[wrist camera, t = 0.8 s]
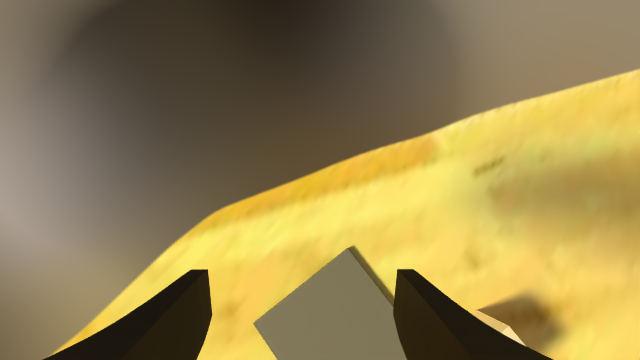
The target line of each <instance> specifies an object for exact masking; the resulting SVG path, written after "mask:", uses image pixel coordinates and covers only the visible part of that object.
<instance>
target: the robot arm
mask: <svg viewBox="0 0 640 360" xmlns="http://www.w3.org/2000/svg"><path fill="white" fill-rule="evenodd" d="M393 316H394V321H395V325H396V329H397V333H398V337H399V340H400V343H401V346H402V348H403V351H404V353H405V356H406V359H407V360H553V359H551V358H549V357H546V356H544V355H542V354H540V353H538V352H536V351H534V350H532V349H530V348H528V347H526V346H524V345H522V344H520V343H518V342H517V341H515V340H513V339H511V338H509V337H507V336H506V335H504V334H502V333H501V332H499V331H497V330H496V329H494V328H492V327H491V326H489V325H487V324H486V323H484V322H483V321H481V320H480V319H478V318H477V317H475V316H474V315H472V314H471V313H469V312H468V311H466V310H465V309H464V308H462V307H461V306H459V305H458V304H457V303H455V302H454V301H453V300H451V299H450V298H449V297H448V296H446V295H445V294H444V293H442V292H441V291H440V290H439V289H437V288H436V287H435V286H434V285H432V284H431V283H430V282H429V281H428V280H426V279H425V278H424V277H423V276H421V275H420V274H419V273H418V272H416V271H415V270H413V269H397V279H396V289H395V299H394V309H393ZM211 318H212V308H211V297H210V287H209V277H208V270H190V271H189V272H187V273H186V274H184V275H183V276H181V277H180V278H179V279H177V280H176V281H174V282H173V283H172V284H170V285H169V286H168V287H166V288H165V289H164V290H162V291H161V292H159V293H158V294H157V295H155V296H154V297H153V298H151V299H150V300H148V301H147V302H145V303H144V304H142V305H141V306H139V307H138V308H136V309H135V310H133V311H132V312H130V313H129V314H127V315H126V316H124V317H123V318H121V319H120V320H118V321H116V322H115V323H113V324H111V325H110V326H108V327H106V328H104V329H103V330H101V331H99V332H97V333H95V334H94V335H92V336H90V337H88V338H86V339H84V340H82V341H80V342H78V343H76V344H74V345H72V346H70V347H68V348H66V349H64V350H62V351H60V352H58V353H56V354H54V355H52V356H50V357H48V358H45V359H43V360H197V357H198V355H199V353H200V350H201V348H202V346H203V343H204V341H205V338H206V335H207V332H208V328H209V325H210V321H211Z"/></svg>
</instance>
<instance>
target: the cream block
mask: <svg viewBox="0 0 640 360" xmlns="http://www.w3.org/2000/svg"><path fill="white" fill-rule="evenodd" d="M472 315H474V316H475V317H477V318H478V319H480V320H481V321H483V322H484V323H486V324H487V325H489V326H491V327H492V328H494V329H496V330H497V331H499V332H501V333H502V334H504V335H506V336H507V337H509V338H511V339H513V340H515V341H517V342H518V343H520V344H522V345H524V346H525V344H524V343H523V342H522V341H521V340H520V339H519V337H518V336H517V335H516V334H515V333H514V331H513V330H512V329H511V328H510V327H509V326H508V325H506V324H504V323H502V322H500V321H498V320H496V319H494V318H492V317H490V316H488V315H486V314H484V313H481V312H479V311H477V310H476V311H475V312H474V313H472Z"/></svg>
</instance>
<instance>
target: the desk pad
mask: <svg viewBox="0 0 640 360" xmlns="http://www.w3.org/2000/svg"><path fill="white" fill-rule="evenodd" d="M393 309H394V308H393V306H392V305H391V304H390V302H389V301H388V300H387V299H386V297H385V296H384V295H383V293H382V292H381V291H380V289H379V288H378V287H377V286H376V284H375V283H374V282H373V280H372V279H371V278H370V277H369V275H368V274H367V273H366V271H365V270H364V269H363V268H362V266H361V265H360V264H359V262H358V261H357V260H356V259H355V257H354V256H353V255H352V253H351V252H350V251H349V249H348V248H347V249H346V250H344V251H343V252H342V253H341V254H339V255H338V256H337V257H336V258H334V259H333V260H332V261H331V262H329V263H328V264H327V265H326V266H324V267H323V268H322V269H321V270H319V271H318V272H317V273H316V274H314V275H313V276H312V277H311V278H309V279H308V280H307V281H306V282H304V283H303V284H302V285H301V286H299V287H298V288H297V289H296V290H294V291H293V292H292V293H291V294H289V295H288V296H287V297H285V298H284V299H283V300H282V301H280V302H279V303H278V304H277V305H275V306H274V307H273V308H272V309H270V310H269V311H268V312H267V313H265V314H264V315H263V316H262V317H260V318H259V319H258V320H257V321H255V322H254V323H253V324H254V325H255V327H256V328H257V330H258V331H259V333H260V334H261V336H262V337H263V339H264V340H265V342H266V343H267V345H268V346H269V348H270V349H271V351H272V352H273V354H274V355H275V357H276V358H277V360H407V359H406V356H405V353H404V351H403V348H402V346H401V343H400V340H399V337H398V333H397V329H396V325H395V321H394V316H393Z"/></svg>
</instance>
